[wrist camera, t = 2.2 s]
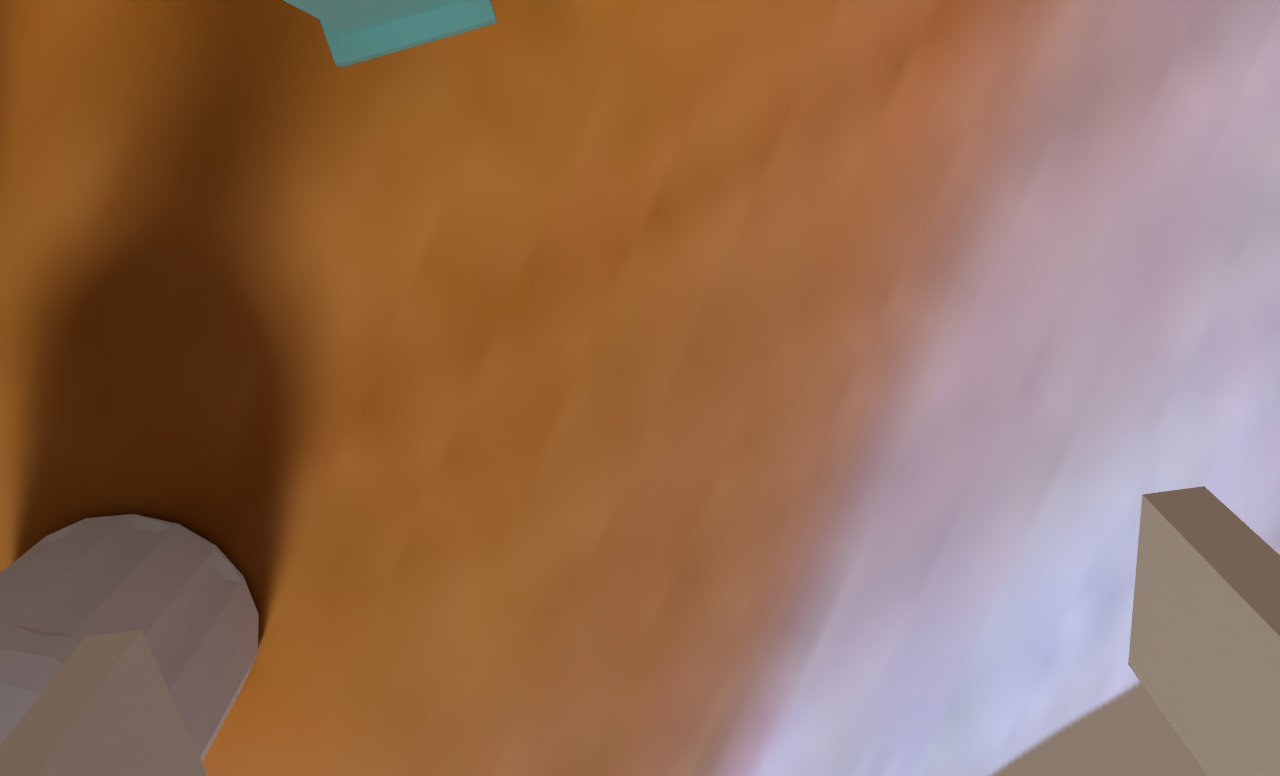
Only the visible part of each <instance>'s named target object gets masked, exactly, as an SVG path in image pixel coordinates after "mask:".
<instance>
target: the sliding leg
mask: <svg viewBox="0 0 1280 776" xmlns="http://www.w3.org/2000/svg"><path fill="white" fill-rule="evenodd" d="M283 1H285V2H287V3H289V4H291V5H293V6H295V7H297V8H299V9H301V10H303V11H305V12H306V13H308V14H310V15H312V16H314V17H316V18H318V19H320V22H321V25H322V28H323V31H324V34H325V36H326V39H327V42H328V45H329V48H330V51H331V54H332V56H333V59H334V62H335V65H337V66H340V67H345V66H349V65H352V64H356V63H359V62H363V61H366V60H370V59H373V58H377V57H380V56H384V55H387V54H391V53H394V52H398V51H401V50H405V49H408V48H412V47H415V46H419V45H422V44H426V43H429V42H433V41H436V40H440V39H443V38H447V37H450V36H454V35H457V34H461V33H464V32H468V31H471V30H475V29H478V28H482V27H485V26H489V25H492V24H496V23H497V20H496V17H495V14H494V10H493V7H492V4H491V0H283Z"/></svg>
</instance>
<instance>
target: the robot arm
mask: <svg viewBox="0 0 1280 776" xmlns="http://www.w3.org/2000/svg"><path fill="white" fill-rule="evenodd" d="M1128 665H1129V666H1130V667H1131V669H1132V670H1133V672H1134V673H1135V674H1136V676H1137V677H1138V679H1139V680H1140V681H1141V683H1142V684H1143V686H1144V687H1145V688H1146V690H1147V691H1148V692H1149V694H1150V695H1151V697H1152V698H1153V700H1154V701H1155V702H1156V704H1157V705H1158V707H1159V708H1160V709H1161V711H1162V712H1163V714H1164V715H1165V716H1166V718H1167V719H1168V720H1169V722H1170V723H1171V725H1172V726H1173V728H1174V729H1175V730H1176V732H1177V733H1178V735H1179V736H1180V737H1181V739H1182V740H1183V741H1184V743H1185V744H1186V746H1187V747H1188V748H1189V750H1190V751H1191V753H1192V754H1193V755H1194V757H1195V758H1196V760H1197V761H1198V763H1199V764H1200V765H1201V766H1202V768H1203V769H1204V771H1205V772H1206V774H1207V775H1208V776H1280V555H1279V554H1278V553H1277V552H1275V551H1274V550H1273V549H1272V548H1271V547H1270V546H1269V545H1268V544H1267V543H1266V542H1265V541H1263V540H1262V539H1261V538H1260V537H1259V536H1258V535H1257V534H1256V533H1255V532H1254V531H1252V530H1251V529H1250V528H1249V527H1248V526H1247V525H1246V524H1245V523H1244V522H1243V521H1241V520H1240V519H1239V518H1238V517H1237V516H1236V515H1235V514H1234V513H1233V512H1232V511H1230V510H1229V509H1228V508H1227V507H1226V506H1225V505H1224V504H1223V503H1222V502H1221V501H1219V500H1218V499H1217V498H1216V497H1215V496H1214V495H1213V494H1212V493H1211V492H1210V491H1209V490H1207V489H1206V488H1205V487H1204V486H1203V487H1196V488H1188V489H1181V490H1174V491H1166V492H1159V493H1151V494H1144V495H1142V507H1141V519H1140V531H1139V542H1138V554H1137V566H1136V578H1135V590H1134V602H1133V614H1132V626H1131V638H1130V650H1129V662H1128ZM0 776H208V774H207V772H206V770H205V768H204V765H203V763H202V761H201V759H200V757H199V755H198V752H197V750H196V748H195V746H194V744H193V742H192V739H191V737H190V735H189V733H188V731H187V728H186V726H185V724H184V722H183V720H182V718H181V715H180V713H179V711H178V709H177V707H176V705H175V702H174V700H173V698H172V696H171V694H170V692H169V689H168V687H167V685H166V683H165V681H164V678H163V676H162V674H161V672H160V670H159V668H158V665H157V663H156V661H155V659H154V657H153V655H152V652H151V650H150V648H149V646H148V644H147V642H146V639H145V637H144V635H143V633H142V631H141V630H134V631H127V632H119V633H112V634H104V635H97V636H89V637H85V638H84V640H83V641H82V642H81V643H80V645H79V646H78V647H77V648H76V650H75V651H74V652H73V654H72V655H71V656H70V657H69V659H68V660H67V661H66V662H65V664H64V665H63V666H62V668H61V669H60V670H59V671H58V673H57V674H56V675H55V676H54V678H53V679H52V680H51V681H50V683H49V684H48V685H47V687H46V688H45V689H44V690H43V692H42V693H41V694H40V695H39V697H38V698H37V699H36V701H35V702H34V703H33V704H32V706H31V707H30V708H29V709H28V711H27V712H26V713H25V715H24V716H23V717H22V718H21V720H20V721H19V722H18V723H17V725H16V726H15V727H14V728H13V730H12V731H11V732H10V734H9V735H8V736H7V737H6V739H5V740H4V741H3V742H2V744H1V745H0Z"/></svg>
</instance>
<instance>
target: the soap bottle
mask: <svg viewBox="0 0 1280 776" xmlns="http://www.w3.org/2000/svg"><path fill="white" fill-rule="evenodd" d="M258 624H259V615H258V612H257V609H256V607H255V604H254V601H253V599H252V596H251V594H250V591H249V589H248V586H247V584H246V581H245V578H244V576H243V575H242V574H241V573H240V572H239V570H238V569H237V568H236V567H235V566H234V565H233V564H232V563H231V561H230V560H229V559H228V558H227V557H226V556H225V555H224V554H223V553H222V551H221V550H220V549H219V548H218V547H217V546H216V545H214V544H213V543H211V542H209V541H208V540H206V539H204V538H202V537H201V536H199V535H197V534H195V533H194V532H192V531H190V530H188V529H187V528H185V527H183V526H181V525H180V524H177V523H173V522H168V521H163V520H159V519H154V518H150V517H145V516H141V515H136V514H127V515H116V516H105V517H94V518H85V519H83V520H81V521H79V522H76V523H74V524H72V525H70V526H67V527H65V528H63V529H61V530H58V531H56V532H54V533H52V534H49V535H47V536H46V537H44V538H43V539H42V540H41V541H39V542H38V543H37V544H36V545H34V546H33V547H32V548H31V549H29V550H28V551H27V552H26V553H25V554H23V555H22V556H21V557H20V558H18V559H17V560H16V561H15V562H13V563H12V564H11V565H10V566H8V567H7V568H6V569H5V570H4V571H2V572H1V573H0V745H1V744H2V742H3V741H4V740H5V739H6V737H7V736H8V735H9V734H10V732H11V731H12V730H13V728H14V727H15V726H16V725H17V723H18V722H19V721H20V720H21V718H22V717H23V716H24V715H25V713H26V712H27V711H28V709H29V708H30V707H31V706H32V704H33V703H34V702H35V701H36V699H37V698H38V697H39V695H40V694H41V693H42V692H43V690H44V689H45V688H46V687H47V685H48V684H49V683H50V681H51V680H52V679H53V678H54V676H55V675H56V674H57V673H58V671H59V670H60V669H61V668H62V666H63V665H64V664H65V662H66V661H67V660H68V659H69V657H70V656H71V655H72V654H73V652H74V651H75V650H76V648H77V647H78V646H79V645H80V643H81V642H82V641H83V640H84V638H85V637H89V636H97V635H104V634H112V633H119V632H127V631H134V630H141V631H142V633H143V635H144V637H145V639H146V642H147V644H148V646H149V648H150V650H151V652H152V655H153V657H154V659H155V661H156V663H157V665H158V668H159V670H160V672H161V674H162V676H163V678H164V681H165V683H166V685H167V687H168V689H169V692H170V694H171V696H172V698H173V700H174V702H175V705H176V707H177V709H178V711H179V713H180V715H181V718H182V720H183V722H184V724H185V726H186V728H187V731H188V733H189V735H190V737H191V739H192V742H193V744H194V746H195V748H196V750H197V752H198V755H199V757H200V759H201V761H203V759H204V757H205V755H206V753H207V751H208V750H209V748H210V746H211V744H212V742H213V740H214V739H215V737H216V735H217V733H218V731H219V729H220V727H221V726H222V724H223V722H224V720H225V718H226V716H227V715H228V713H229V711H230V709H231V707H232V705H233V704H234V702H235V700H236V698H237V696H238V694H239V692H240V691H241V689H242V687H243V685H244V683H245V680H246V678H247V676H248V674H249V672H250V669H251V667H252V665H253V663H254V660H255V658H256V656H257V654H258Z"/></svg>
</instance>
